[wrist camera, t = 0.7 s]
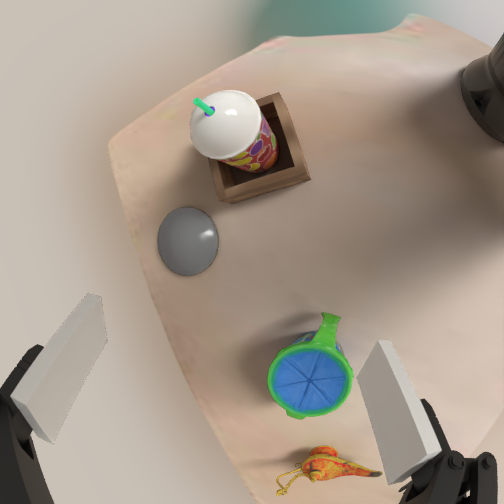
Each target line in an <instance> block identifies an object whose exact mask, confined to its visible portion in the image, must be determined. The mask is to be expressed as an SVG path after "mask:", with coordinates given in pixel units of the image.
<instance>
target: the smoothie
mask: <svg viewBox="0 0 504 504" xmlns="http://www.w3.org/2000/svg"><path fill="white" fill-rule="evenodd" d="M193 102H194V104H195V105H196V106H195V108H194V110H193V112H192V115H191V119H190V135H191V140H192V142H193V144H194V147H195V148H196V149H197V150H198V151H199V152H200V153H201V154H202V155H204V156H207V157H209V158H211V159H216V160H219V161H222V162H224V163H227V164H229V165H232V166H235V167H237V168H240V169H242V170H245V171H247V172H250V173H261V172H265V171H266V170H268V169H270V168H271V167H272V166H273V165H274V164H275V163H276V161H277V159H278V156H279V144H278V141H277V139H276V137H275V136H274V134H273V132H272V130H271V128H270V127H269V125H268V123H267V121H266V119H265V118H264V116H263V114H262V112H261V111H260V108H259V106H258V104H257V103H256V101H255V99H253V98H252V97H251V96H249V95H248V94H247V93H244V92H241V91H238V90H224V91H218V92H215V93H211V94H209V95H207V96H206V97H204V98H203V99H201V100H200V99H199V98H195V99H194V101H193Z"/></svg>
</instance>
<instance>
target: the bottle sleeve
mask: <svg viewBox="0 0 504 504" xmlns="http://www.w3.org/2000/svg"><path fill="white" fill-rule="evenodd" d="M255 101H256V103H257V104H258V106H259V108H260V111H261V112H262V114H263V116H264V118H265V119H266V120H267V119H270V118H273V117H276V116H279V119H280V122H281V125H282V128H283V131H284V134H285V137H286V140H287V143H288V146H289V149H290V153H291V156H292V159H293V162H294V165H295V167H292V168H288V169H285V170H282V171H279V172H276V173H272V174H269V175H266V176H263V177H260V178H257V179H254V180H251V181H248V182H245V183H242V184H239V185H236V186H235V183H234V179H233V175H232V172H231V168H230V165H229V164H227V163H224V162H222V161H219V160H216V159H211V158H209V157H208V159H209V163H210V167H211V172H212V176H213V180H214V184H215V188H216V192H217V196H218V200H219V201H222V202H226V203H231V204H233V203H236V202H239V201H242V200H245V199H248V198H252V197H255V196H258V195H261V194H264V193H267V192H271V191H274V190H277V189H280V188H284V187H287V186H290V185H294V184H297V183H300V182H304V181H307V180H311V179H310V175H309V172H308V169H307V166H306V162H305V159H304V156H303V153H302V150H301V147H300V144H299V141H298V138H297V135H296V132H295V129H294V126H293V123H292V121H291V118H290V115H289V112H288V109H287V107H286V105H285V103H284V101H283V99H282V97H281V95H280V93H279V92H278V93H275V94H272V95H269V96H266V97H264V98H261V99H258V100H255Z"/></svg>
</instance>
